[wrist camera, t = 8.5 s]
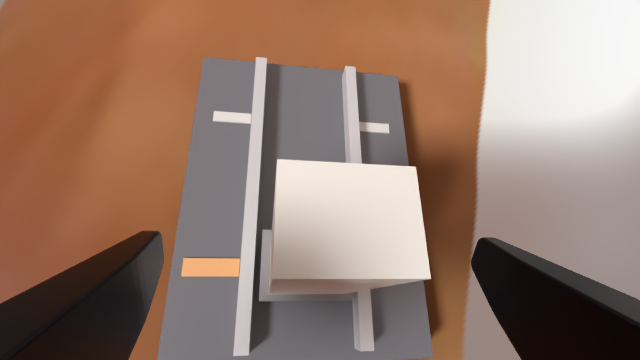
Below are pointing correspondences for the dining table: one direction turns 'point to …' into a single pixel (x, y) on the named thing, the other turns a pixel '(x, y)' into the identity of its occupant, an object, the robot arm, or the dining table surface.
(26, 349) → the robot arm
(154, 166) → the dining table surface
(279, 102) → the grey slider track base
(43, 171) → the dining table surface
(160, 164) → the dining table surface
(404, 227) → the fader
